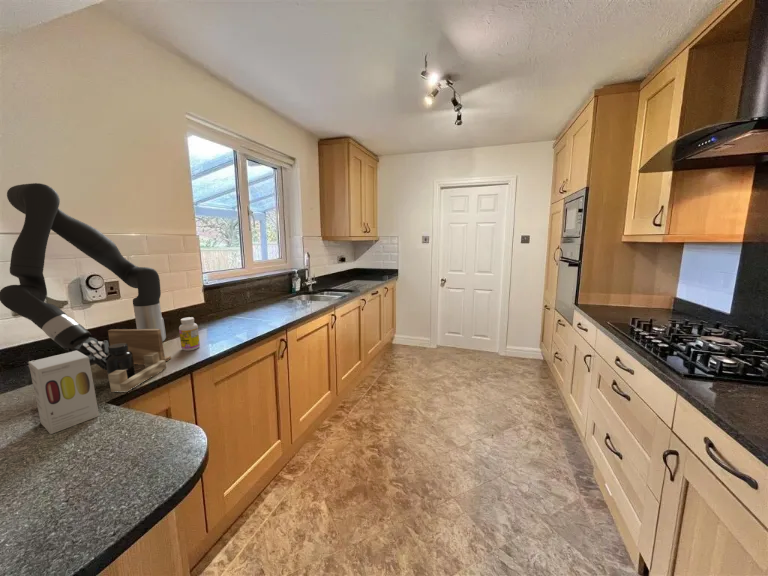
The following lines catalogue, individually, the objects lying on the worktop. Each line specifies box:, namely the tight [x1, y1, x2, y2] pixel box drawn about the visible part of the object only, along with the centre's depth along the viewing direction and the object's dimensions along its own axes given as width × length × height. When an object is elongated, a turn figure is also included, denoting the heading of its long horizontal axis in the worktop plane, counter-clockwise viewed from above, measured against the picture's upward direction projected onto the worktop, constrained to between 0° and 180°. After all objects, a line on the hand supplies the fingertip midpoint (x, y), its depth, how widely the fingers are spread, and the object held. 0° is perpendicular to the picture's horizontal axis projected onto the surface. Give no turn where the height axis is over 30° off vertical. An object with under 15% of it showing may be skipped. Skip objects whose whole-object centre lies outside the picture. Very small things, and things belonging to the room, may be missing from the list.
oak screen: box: [107, 328, 172, 365], centre depth 116 cm, size 5×18×13 cm, turn 90°
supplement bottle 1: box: [106, 343, 136, 384], centre depth 102 cm, size 7×7×12 cm
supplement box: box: [27, 350, 100, 435], centre depth 80 cm, size 10×9×17 cm
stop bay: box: [107, 353, 167, 392], centre depth 102 cm, size 17×5×6 cm, turn 0°
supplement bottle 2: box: [178, 316, 201, 352], centre depth 129 cm, size 7×7×13 cm
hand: (110, 367), depth 102 cm, fingers closed
